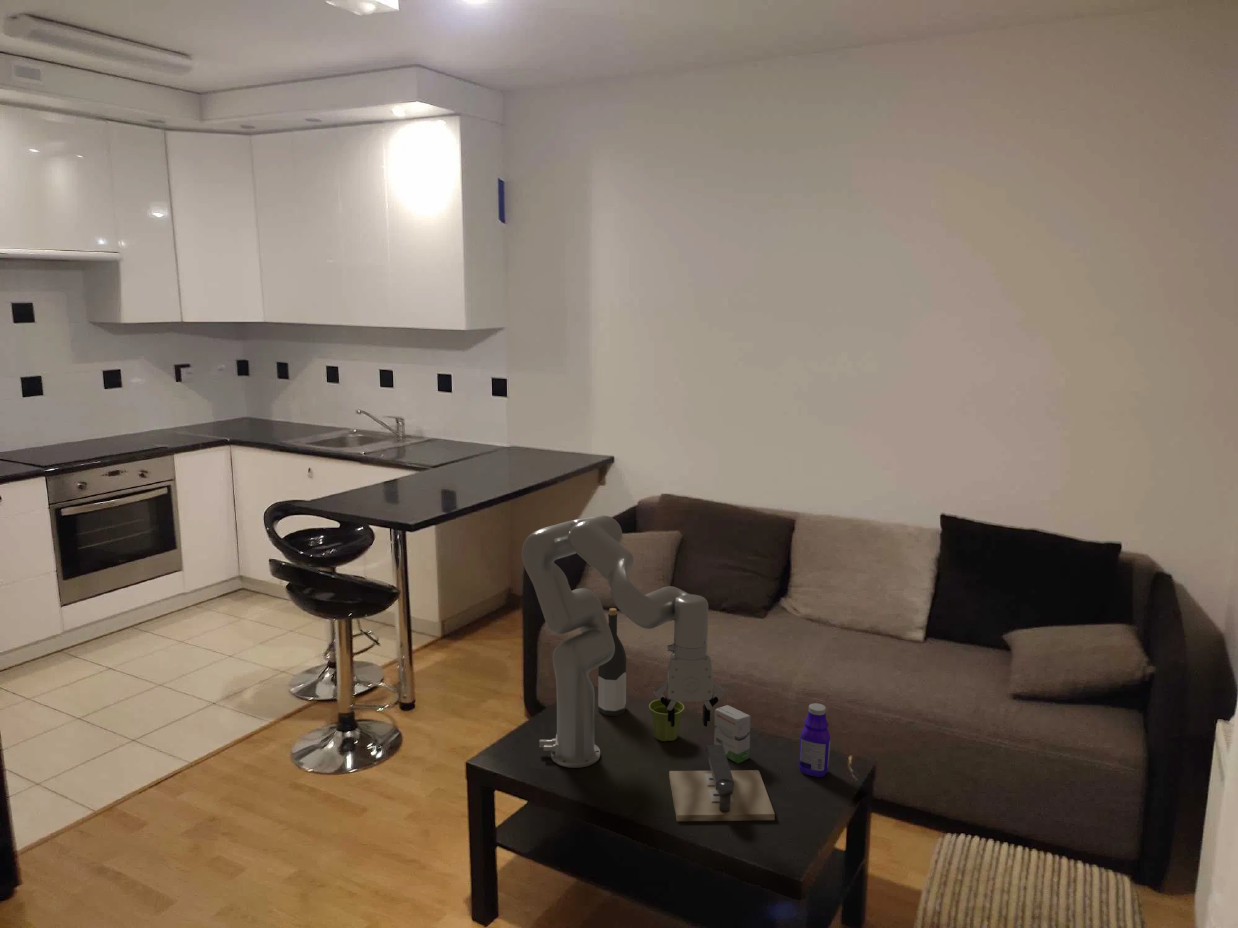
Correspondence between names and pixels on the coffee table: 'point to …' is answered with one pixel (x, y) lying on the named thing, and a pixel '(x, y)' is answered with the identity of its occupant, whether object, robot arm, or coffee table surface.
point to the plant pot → (665, 720)
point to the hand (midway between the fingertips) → (688, 723)
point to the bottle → (815, 742)
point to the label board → (719, 797)
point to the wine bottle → (613, 676)
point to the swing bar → (720, 769)
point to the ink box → (733, 733)
